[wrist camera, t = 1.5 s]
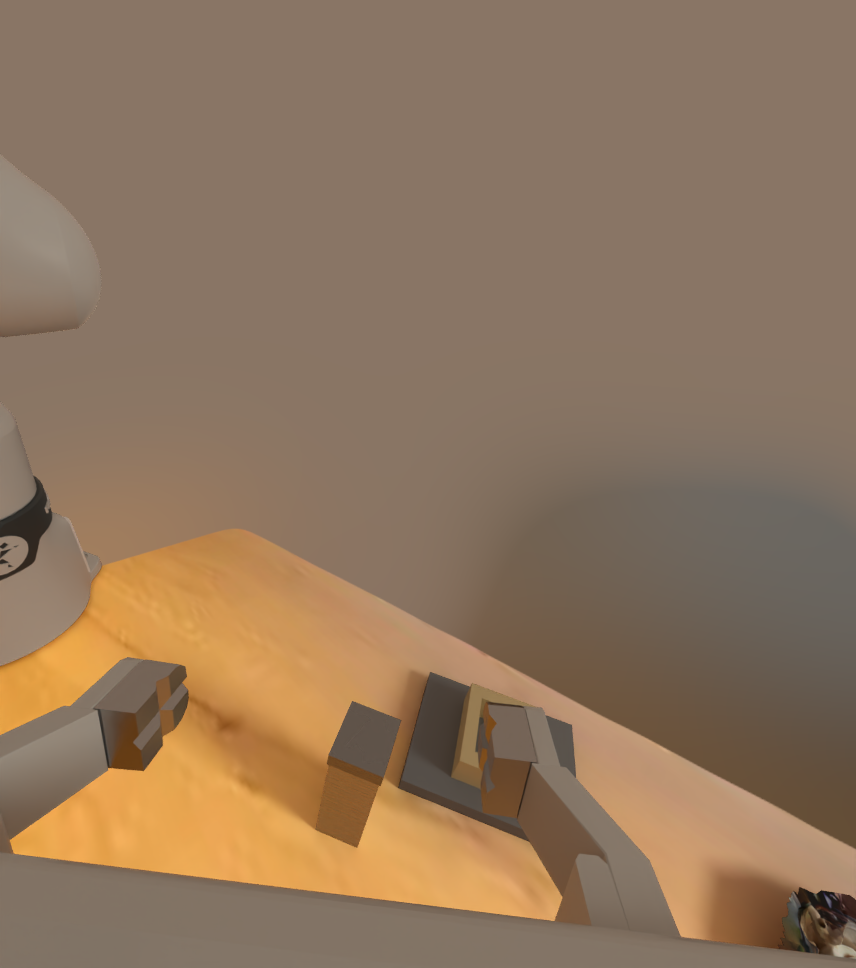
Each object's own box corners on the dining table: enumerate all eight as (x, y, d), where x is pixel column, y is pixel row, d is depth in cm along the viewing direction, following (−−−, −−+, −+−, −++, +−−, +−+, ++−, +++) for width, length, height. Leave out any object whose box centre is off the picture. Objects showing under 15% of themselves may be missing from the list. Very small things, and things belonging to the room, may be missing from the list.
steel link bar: (313, 830, 32) (328, 755, 26) (334, 778, 35) (352, 701, 29) (358, 849, 31) (383, 777, 25) (374, 795, 34) (401, 720, 29)
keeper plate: (398, 787, 35) (408, 763, 33) (427, 680, 45) (436, 655, 43) (574, 860, 34) (597, 839, 32) (566, 732, 43) (583, 709, 41)
